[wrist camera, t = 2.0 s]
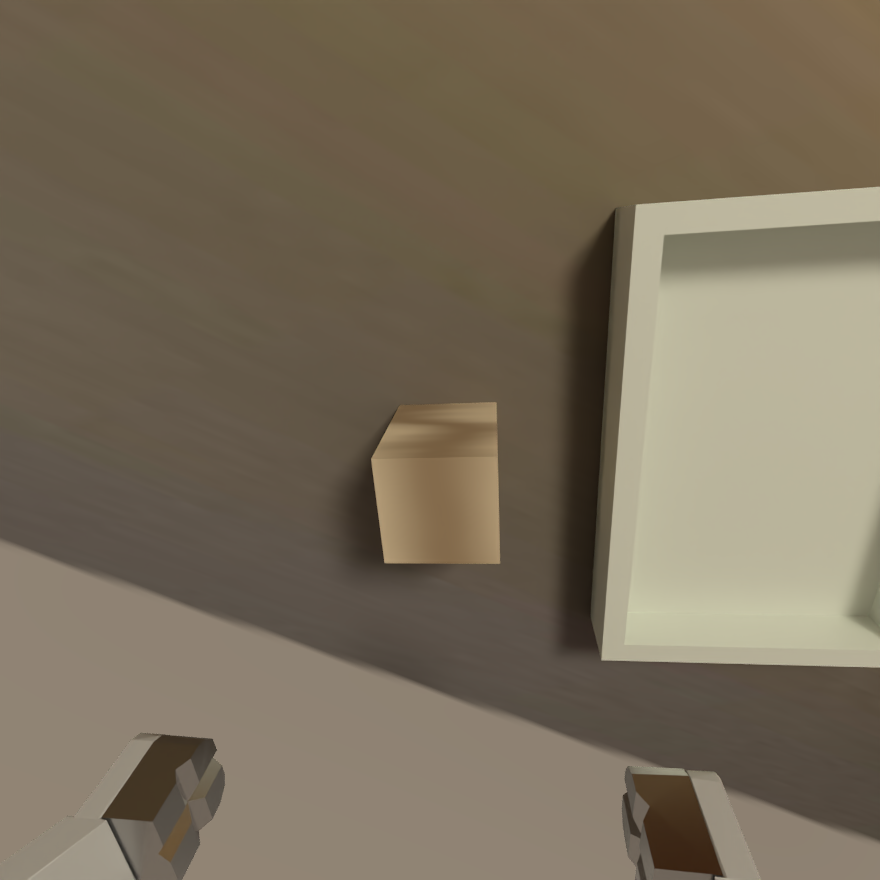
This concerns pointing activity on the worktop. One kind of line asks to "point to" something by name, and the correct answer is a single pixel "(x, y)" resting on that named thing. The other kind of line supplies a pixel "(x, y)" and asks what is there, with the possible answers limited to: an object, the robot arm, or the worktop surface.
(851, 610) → the shallow rimmed tray
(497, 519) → the birch block
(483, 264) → the worktop surface
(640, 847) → the robot arm
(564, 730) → the worktop surface
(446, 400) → the worktop surface
